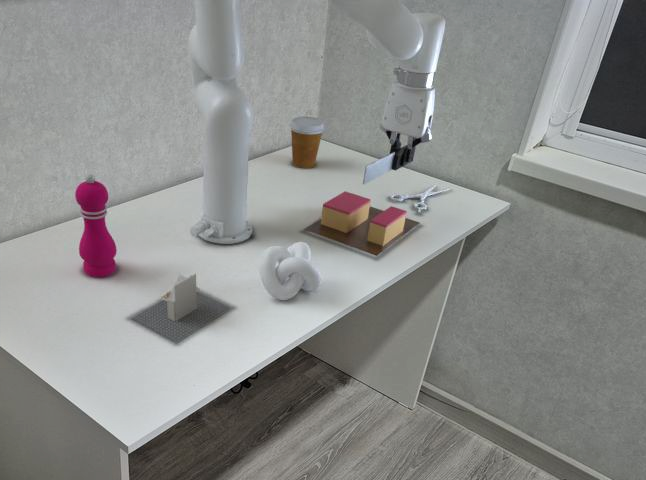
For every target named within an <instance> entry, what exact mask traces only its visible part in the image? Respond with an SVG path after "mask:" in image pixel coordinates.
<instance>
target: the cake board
mask: <svg viewBox="0 0 646 480" xmlns="http://www.w3.org/2000/svg"><path fill="white" fill-rule="evenodd" d="M383 211H384V210H383V209H380V208H376V207H374V206H371V205H370V208H369V214H368V219H367V220H365V221H364V222H362V223H361V224H359V225H358V226H356V227H355V228H353V229H352V230H350V231H349V232H347V233H345V232H342V231H339V230H336V229H334V228H331V227H328V226H325V225H322V224H321V218H319V219H318V220H317V221H314V222H313V223H311V224H310V225H308V226H307V227H305V228H303V230H304V231H307V232H309V233H311V234H312V233H313V234H314V235H318V236H321V237H323V238H326V239H329V240H332V241H334V242H337V243H340V244H343V245H345V246H349V247H350V248H354V249H356V250H358V251H362V252H365V253H367V254H370V255H373V256H375V257H378V256H379V255H381V254H382V253H383V252H384V251H386V250H388V248H389V247H391V246H392V245H394V244H395V243H396V242H398V240H401V239H402V238H403V237H404V236H406V235H407V234H408V233H409V232H411V231H412V230H414V229H415V228H416V227H417V226H419V225H420V224H421V222H419V221H416V220H413V219H410V218H407V217H406V218H405V223H404V228H403V231H402V232H401V233H400V234H398V235H397V236H396V237H394V238H393V239H392V240H390V241H389V242H388V243H386V244H385V245H384V246H381V245H378V244H376V243H373V242H370V241H367V238H368V232H369V226H370V221H371V220H372V219H373V218H374V217H376V216H377V215H379V214H380V213H382V212H383Z"/></svg>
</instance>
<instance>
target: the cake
mask: <svg viewBox="0 0 646 480" xmlns="http://www.w3.org/2000/svg"><path fill="white" fill-rule="evenodd" d="M371 201H372V200H371V198H368V197H364V196H361V195H358V194H355V193H352V192H349V191H343V192H341V193H340V194H338V195H336V196H334V197H333V198H331V199H329V200H327V201H325V202H324V203H323V204H322V208H321V210H322V211H321V218H320V219H321V224H322V225H325V226H328V227H331V228H334V229H336V230H339V231H342V232H345V233H347V232H349V231H350V230H352V229H353V228H355V227H356V226H358V225H359V224H361V223H362V222H364V221H365V220H367V219H368V214H369V208H370V206H371Z"/></svg>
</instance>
